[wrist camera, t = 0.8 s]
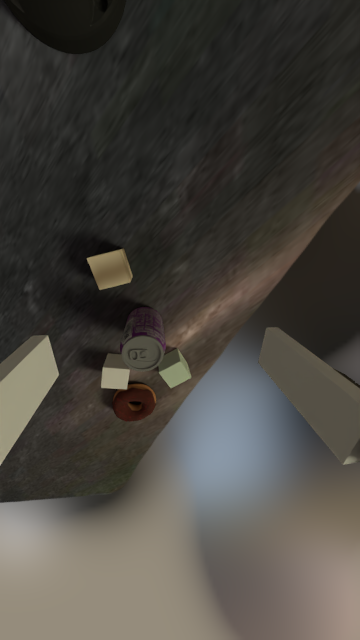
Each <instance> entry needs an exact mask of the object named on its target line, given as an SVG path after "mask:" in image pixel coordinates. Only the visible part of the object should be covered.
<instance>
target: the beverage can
mask: <svg viewBox="0 0 360 640" xmlns="http://www.w3.org/2000/svg"><path fill="white" fill-rule="evenodd" d="M165 350H166V343H165V336H164V329H163V322H162V318H161V316H160V314H159V313H158V312H157V311H156V310H154V309H152V308H149V307H140V308H137V309H135V310H133V311H132V312H131V313H130V314H129V316H128V318H127V322H126V325H125V329H124V333H123V336H122V340H121V344H120V351H121V355H122V360H123V362H124V363H125V364H126V365H127V366H128V367H129V368H131V369H133V370H135V371H149V370H152V369H154V368H156V367H157V366H158V365H159V364H160V363H161V361H162V359H163V356H164V354H165Z"/></svg>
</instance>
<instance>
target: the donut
mask: <svg viewBox="0 0 360 640" xmlns="http://www.w3.org/2000/svg"><path fill="white" fill-rule="evenodd" d="M131 401H140V402H142V403H141V404H140V405H135V404H131V403H129V402H131ZM155 402H156V396H155V393H154V392H153V390H152V389H151V388H150V387H148V386H147V385H144V384H128V385H127V389H119V390H118V391H117V392H116V393H115V395H114V398H113V402H112V404H113V410H114V413H115V414H116V416H117V417H118V418H120V419H122V420H124V421H138V420H141V419H143V418H145V417H146V416H148V415H150V414H151V413H152V412H153V410H154V408H155V405H156V404H155Z"/></svg>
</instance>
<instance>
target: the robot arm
mask: <svg viewBox="0 0 360 640" xmlns="http://www.w3.org/2000/svg"><path fill="white" fill-rule="evenodd" d="M4 1H5V3H6V4H7V6H8V7H9V8H10V10H11V11H12V13H13V14H14V15H15V16H16V18H17V19H18V20H19V21H20V22H21V23H22V24H23V26H24V27H25V28H26V29H27V30H28V31H30V32H31V33H32V34H33V35H34V36H35V37H37V38H38V39H39V40H41V41H42V42H43V43H45V44H47V45H48V46H50V47H52V48H54V49H57V50H59V51H62V52H66V53H71V54H83V53H88V52H91V51H94V50H96V49H98V48H99V47H101V46H102V45H103V44H105V43H106V42H107V41H108V40H109V38H110V37H111V36H112V35H113V33H114V32H115V30H116V28H117V26H118V24H119V22H120V20H121V17H122V14H123V11H124V7H125V3H126V0H4ZM258 363H259V364H260V365H261V367H262V368H263V369H264V370H265V371H266V373H267V374H268V375H269V376H270V377H271V379H272V380H273V381H274V382H275V383H276V385H277V386H278V387H279V388H280V389H281V391H282V392H283V393H284V394H285V395H286V397H287V398H288V399H289V400H290V401H291V403H292V404H293V405H294V406H295V408H296V409H297V410H298V411H299V412H300V414H301V415H302V416H303V417H304V418H305V420H306V421H307V422H308V423H309V424H310V426H311V427H312V428H313V429H314V430H315V432H316V433H317V434H318V435H319V436H320V437H321V439H322V440H323V441H324V442H325V444H326V445H327V446H328V447H329V448H330V450H331V451H332V452H333V453H334V454H335V456H336V457H337V458H338V459H339V460H340V462H341V463H342V464H350V463H355V462H360V385H358V384H357V383H355V381H353V380H352V379H350V378H349V377H348V376H346V375H345V374H343V373H341V372H339V371H337V370H335V369H333V368H331V367H330V366H329V365H327V364H326V363H325V362H323V361H322V360H321V359H319V358H318V357H316V356H315V355H314V354H313V353H311V352H310V351H308V350H307V349H306V348H304V347H303V346H302V345H300V344H299V343H298V342H296V341H295V340H294V339H292V338H291V337H290V336H288V335H287V334H286V333H284V332H283V331H282V330H280V329H279V328H277V327H276V328H275V327H274V328H266V332H265V336H264V340H263V345H262V349H261V353H260V357H259V361H258ZM58 375H59V373H58V370H57V366H56V363H55V359H54V356H53V352H52V349H51V345H50V342H49V338H48V335H43V336H32V337H31V338H30V339H28V340H27V341H26V342H25V343H24V344H23V345H21V346H20V347H19V348H18V349H17V350H16V351H15V352H13V353H12V354H11V355H10V356H9V357H8V358H7V359H5V360H4V361H3V362H2V363H1V364H0V465H1V463H2V462H3V460H4V459H5V457H6V456H7V454H8V453H9V451H10V449H11V448H12V446H13V445H14V443H15V442H16V440H17V439H18V437H19V436H20V434H21V432H22V431H23V429H24V428H25V426H26V425H27V423H28V422H29V420H30V419H31V417H32V416H33V414H34V412H35V411H36V409H37V408H38V406H39V405H40V403H41V402H42V400H43V399H44V397H45V396H46V394H47V392H48V391H49V389H50V388H51V386H52V385H53V383H54V382H55V380H56V379H57V377H58Z"/></svg>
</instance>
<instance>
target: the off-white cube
mask: <svg viewBox="0 0 360 640" xmlns="http://www.w3.org/2000/svg"><path fill="white" fill-rule="evenodd" d="M129 372H130V368H129V367H128V366H127V365H126V364H125V363H124V362H123V360H122V355H121V354H111V353H108V355H107V357H106V360H105V363H104V365H103V371H102V384H101V388H111V389H127V385H128V379H129Z"/></svg>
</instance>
